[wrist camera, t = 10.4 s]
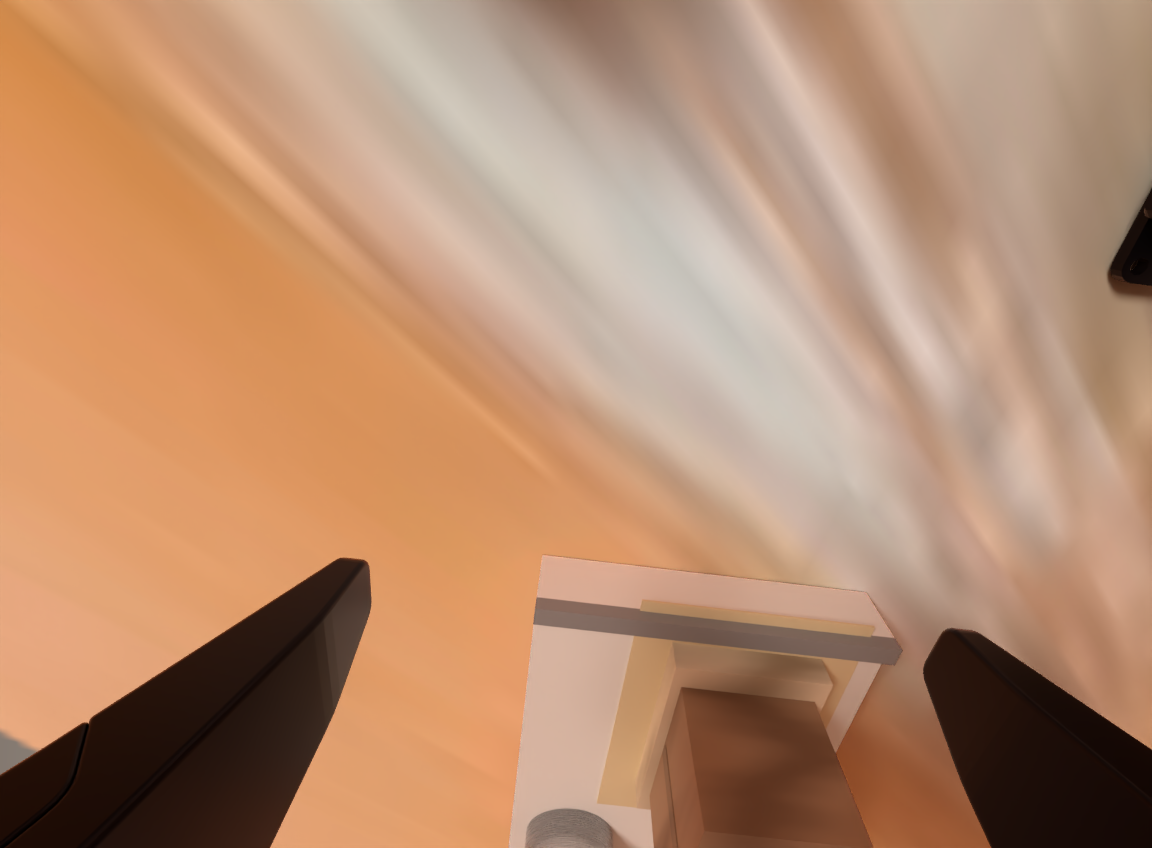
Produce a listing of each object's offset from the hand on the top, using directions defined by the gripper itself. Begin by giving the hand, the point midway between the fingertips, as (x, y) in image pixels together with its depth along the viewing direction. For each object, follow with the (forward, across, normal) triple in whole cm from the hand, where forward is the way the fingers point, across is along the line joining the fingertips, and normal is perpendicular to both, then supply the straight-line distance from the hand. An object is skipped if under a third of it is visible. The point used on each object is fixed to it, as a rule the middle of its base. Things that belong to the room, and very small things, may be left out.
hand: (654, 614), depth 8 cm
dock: (+12, -5, +18) cm, 22 cm away
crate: (+9, -6, +15) cm, 19 cm away
